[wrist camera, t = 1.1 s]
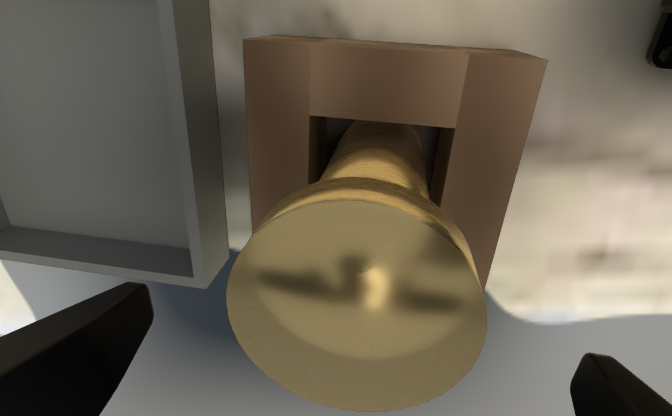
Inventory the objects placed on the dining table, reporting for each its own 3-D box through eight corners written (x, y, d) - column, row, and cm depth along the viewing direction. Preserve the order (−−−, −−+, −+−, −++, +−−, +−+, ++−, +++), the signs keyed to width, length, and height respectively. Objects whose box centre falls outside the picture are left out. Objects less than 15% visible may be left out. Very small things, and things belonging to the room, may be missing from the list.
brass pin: (450, 101, 17) (520, 225, 7) (429, 214, 20) (458, 429, 9) (324, 90, 18) (216, 190, 7) (319, 202, 20) (234, 390, 10)
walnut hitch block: (515, 50, 16) (547, 60, 12) (465, 257, 20) (479, 308, 17) (276, 34, 17) (242, 39, 13) (279, 233, 21) (254, 276, 18)
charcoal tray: (206, -22, 16) (168, -30, 14) (229, 257, 23) (206, 289, 20) (-82, -36, 18) (-166, -46, 15) (14, 228, 24) (-34, 254, 22)
